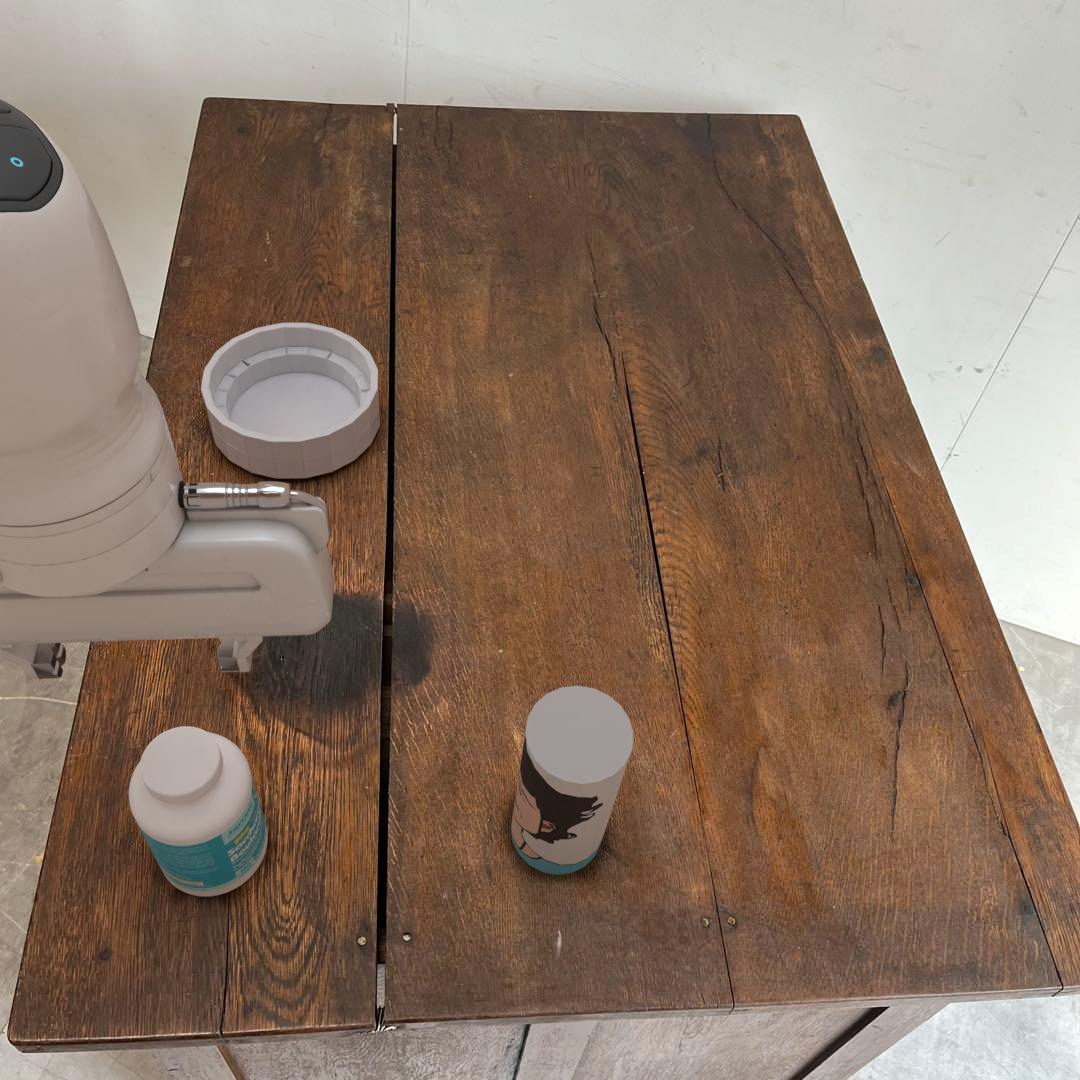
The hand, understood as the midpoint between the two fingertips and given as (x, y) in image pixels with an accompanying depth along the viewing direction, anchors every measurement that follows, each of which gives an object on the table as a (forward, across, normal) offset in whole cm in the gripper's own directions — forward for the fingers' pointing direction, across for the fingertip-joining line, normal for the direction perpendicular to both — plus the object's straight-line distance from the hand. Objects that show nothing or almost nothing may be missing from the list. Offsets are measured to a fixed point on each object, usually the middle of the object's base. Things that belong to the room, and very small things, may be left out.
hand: (144, 664), depth 53 cm
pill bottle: (+25, 0, 0) cm, 25 cm away
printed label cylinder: (+25, -24, 0) cm, 35 cm away
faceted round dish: (+25, -3, -42) cm, 49 cm away
